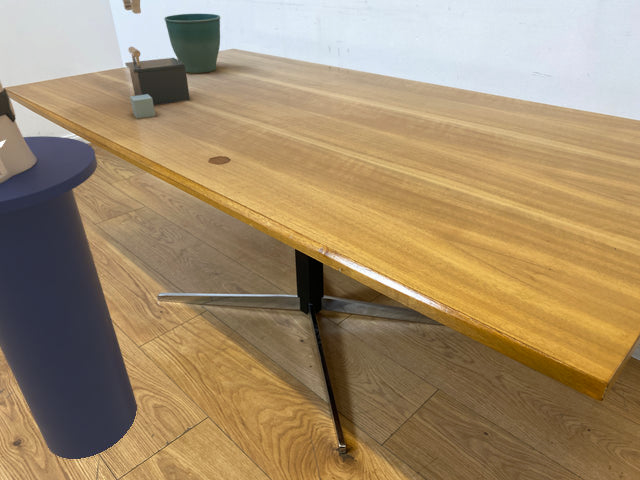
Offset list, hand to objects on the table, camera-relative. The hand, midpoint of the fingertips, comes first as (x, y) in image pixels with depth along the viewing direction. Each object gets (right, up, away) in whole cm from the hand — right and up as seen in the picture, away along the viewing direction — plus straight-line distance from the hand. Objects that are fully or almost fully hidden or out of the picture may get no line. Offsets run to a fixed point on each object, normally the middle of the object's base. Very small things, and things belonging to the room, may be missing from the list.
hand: (132, 11), depth 125 cm
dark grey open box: (+4, -19, +11) cm, 23 cm away
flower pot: (+7, 0, +43) cm, 43 cm away
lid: (+4, -12, +6) cm, 14 cm away
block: (+4, -27, -2) cm, 28 cm away
